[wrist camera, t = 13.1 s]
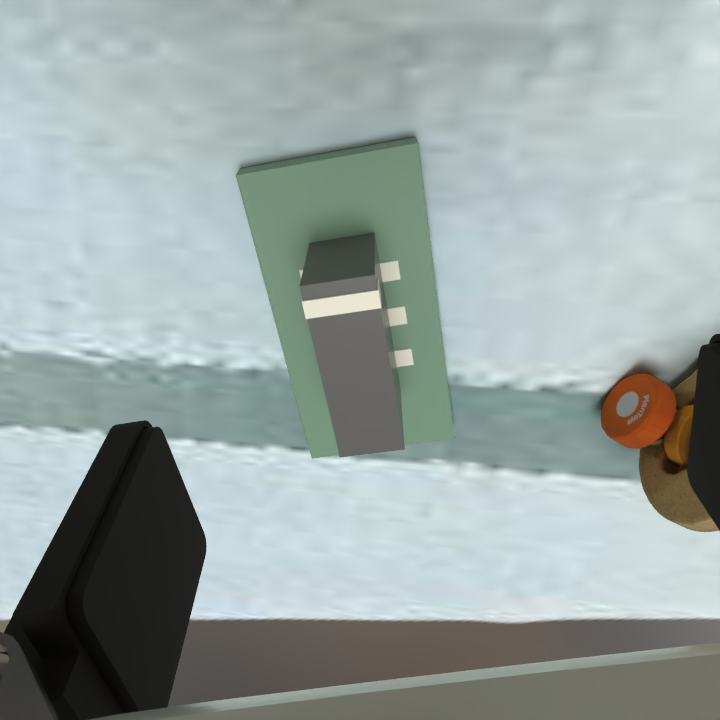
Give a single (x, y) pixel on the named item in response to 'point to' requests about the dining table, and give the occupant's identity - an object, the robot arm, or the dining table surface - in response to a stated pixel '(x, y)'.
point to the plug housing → (353, 343)
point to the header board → (397, 263)
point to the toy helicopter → (659, 443)
